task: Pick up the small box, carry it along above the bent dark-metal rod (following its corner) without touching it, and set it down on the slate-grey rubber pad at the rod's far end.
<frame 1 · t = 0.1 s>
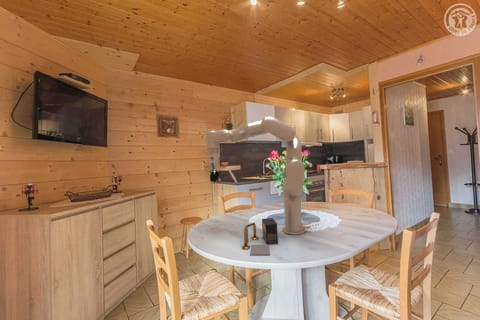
hand: (214, 180, 136), 31 cm above the table, fingers open, 9 cm apart
rubber pad: (260, 250, 108), on the table
small box: (270, 240, 120), on the table
bent rod: (250, 243, 117), on the table
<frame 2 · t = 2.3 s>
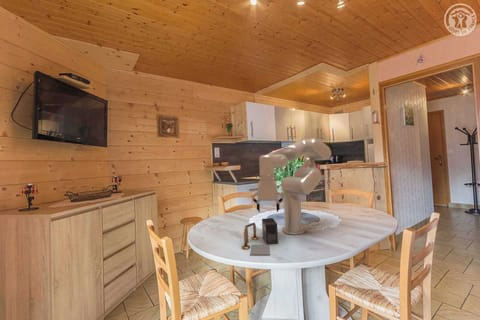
hand: (268, 211, 119), 16 cm above the table, fingers open, 9 cm apart
nothing on the table moved.
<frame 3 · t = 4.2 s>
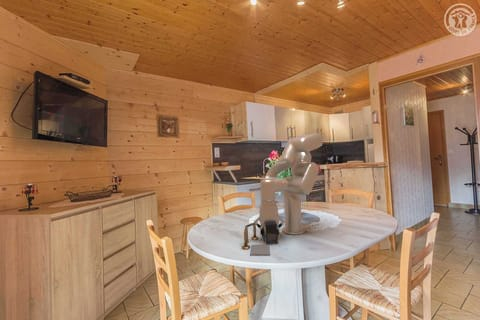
hand: (269, 236, 120), 2 cm above the table, fingers closed on small box, 7 cm apart
small box: (269, 240, 120), on the table, touching gripper
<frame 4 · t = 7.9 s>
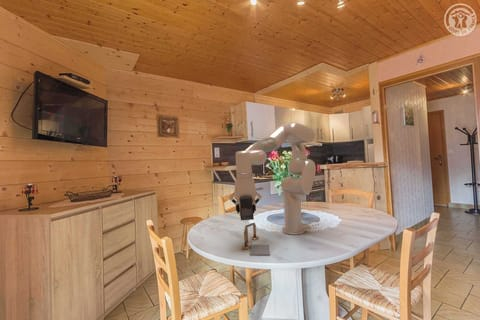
hand: (246, 212, 111), 18 cm above the table, fingers closed on small box, 6 cm apart
small box: (246, 217, 111), point 15 cm above the table, touching gripper
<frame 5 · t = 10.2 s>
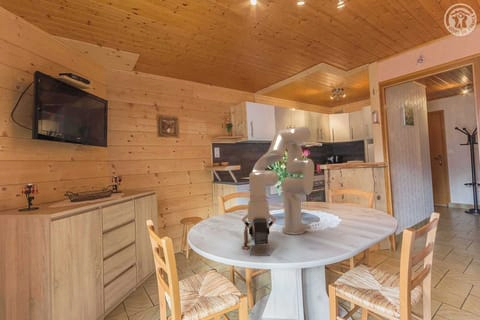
hand: (259, 235, 108), 7 cm above the table, fingers closed on small box, 6 cm apart
small box: (259, 240, 108), point 5 cm above the table, touching gripper
when the fingers open (4 cm above the table, at t = 11.8 s): small box drops 1 cm, resting on rubber pad.
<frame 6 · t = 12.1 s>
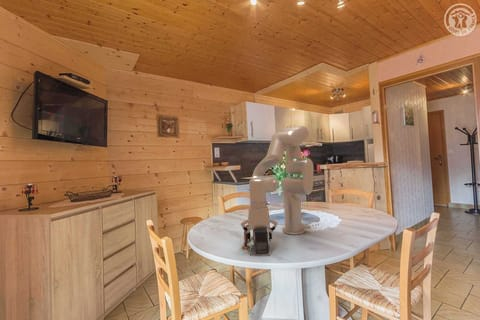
hand: (259, 240, 108), 5 cm above the table, fingers open, 9 cm apart
small box: (260, 249, 108), resting on rubber pad
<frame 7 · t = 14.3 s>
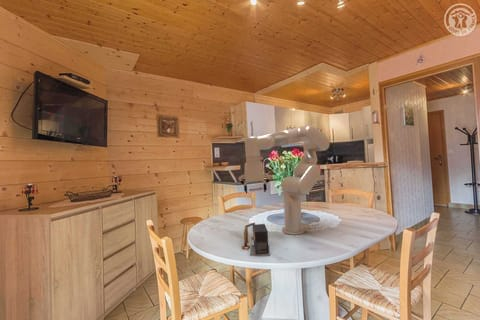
hand: (255, 192, 120), 26 cm above the table, fingers open, 9 cm apart
nothing on the table moved.
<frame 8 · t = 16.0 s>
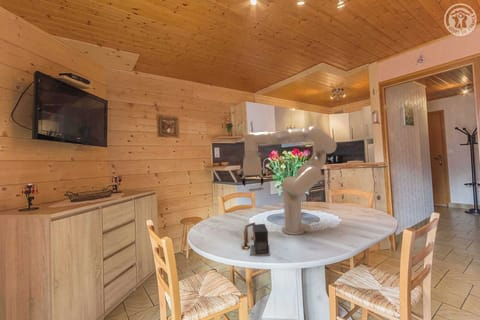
hand: (253, 185, 127), 28 cm above the table, fingers open, 9 cm apart
nothing on the table moved.
at the end: small box inside the target area on the rubber pad (0.3 cm from its centre), point 0.4 cm above the rubber pad's base; small box tilted 0°; small box touching rubber pad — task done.
